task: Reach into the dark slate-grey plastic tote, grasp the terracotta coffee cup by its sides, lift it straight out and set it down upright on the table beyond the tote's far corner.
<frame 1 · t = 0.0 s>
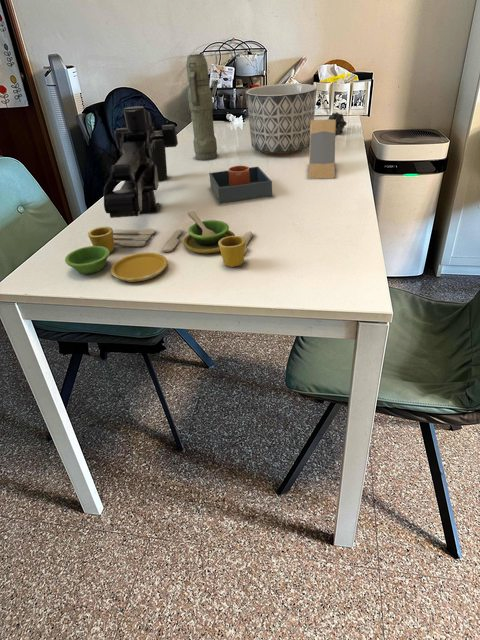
hand: (150, 131, 145), 17 cm above the table, tool horizontal, fingers open, 9 cm apart
coffee cup: (240, 191, 140), resting on tote
tableware set: (164, 256, 108), on the table
tote: (240, 192, 140), on the table
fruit: (335, 132, 197), on the table
planter: (281, 151, 178), on the table
drinking cup: (160, 179, 158), on the table
thermos: (206, 157, 177), on the table
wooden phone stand: (321, 171, 153), on the table
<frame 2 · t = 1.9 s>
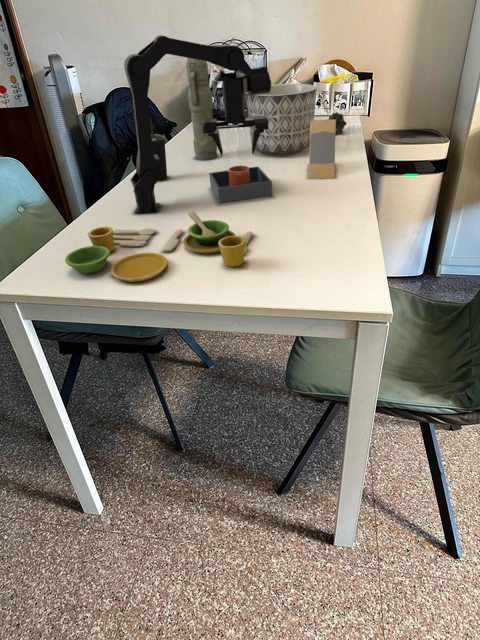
hand: (237, 155, 134), 12 cm above the table, tool pointing down, fingers open, 9 cm apart
nothing on the table moved.
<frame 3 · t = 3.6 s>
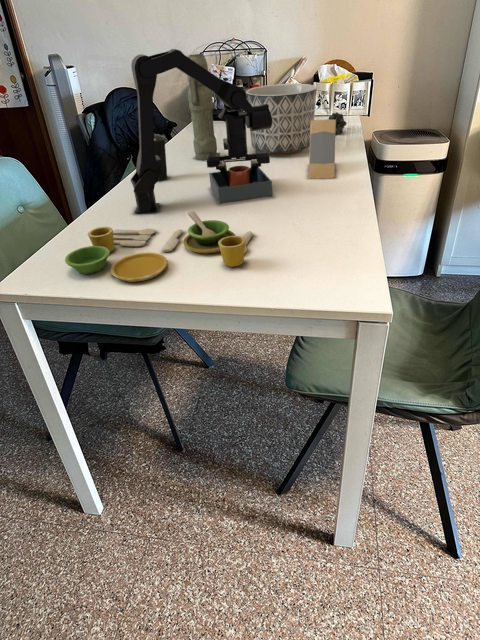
hand: (240, 186, 139), 2 cm above the table, tool pointing down, fingers closed on coffee cup, 6 cm apart
coffee cup: (240, 191, 140), point 1 cm above the table, touching gripper, tote
everything else where it was.
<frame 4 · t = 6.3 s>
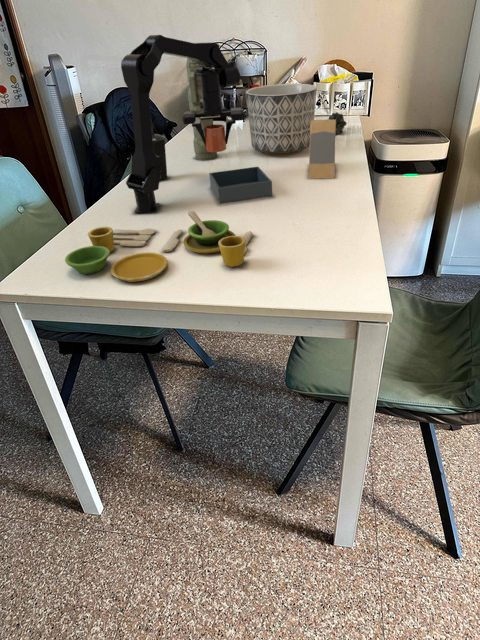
hand: (216, 144, 145), 12 cm above the table, tool pointing down, fingers closed on coffee cup, 6 cm apart
coffee cup: (216, 149, 145), point 10 cm above the table, touching gripper
everything else where it was.
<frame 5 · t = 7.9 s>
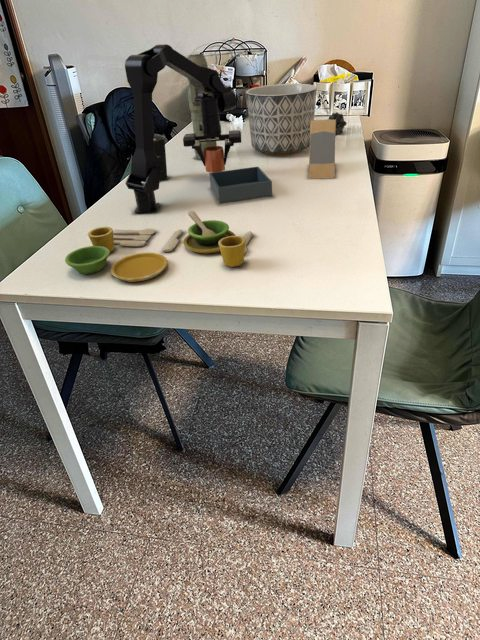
hand: (215, 165, 150), 5 cm above the table, tool pointing down, fingers closed on coffee cup, 6 cm apart
coffee cup: (215, 169, 151), point 3 cm above the table, touching gripper
everything else where it was.
when the fingers open (2 cm above the table, at t = 9.3 s): coffee cup stays where it is, on the table.
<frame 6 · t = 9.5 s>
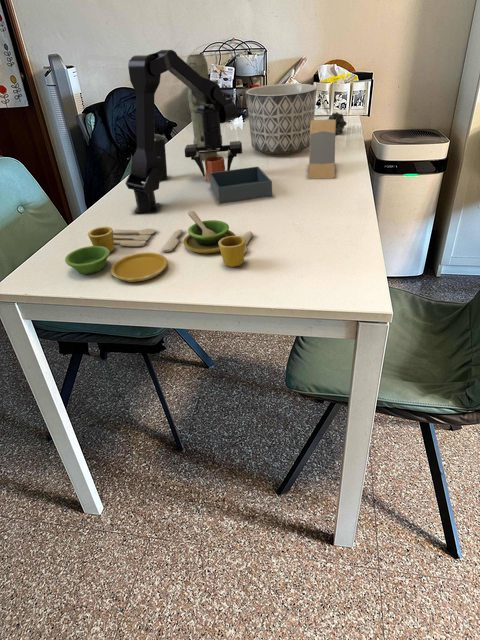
hand: (216, 175, 152), 1 cm above the table, tool pointing down, fingers open, 8 cm apart
coffee cup: (216, 179, 153), on the table
everything else where it was.
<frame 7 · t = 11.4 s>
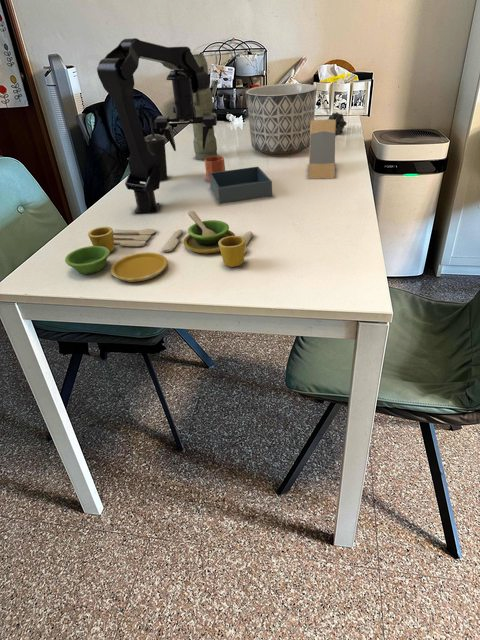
hand: (189, 149, 142), 12 cm above the table, tool pointing down, fingers open, 9 cm apart
nothing on the table moved.
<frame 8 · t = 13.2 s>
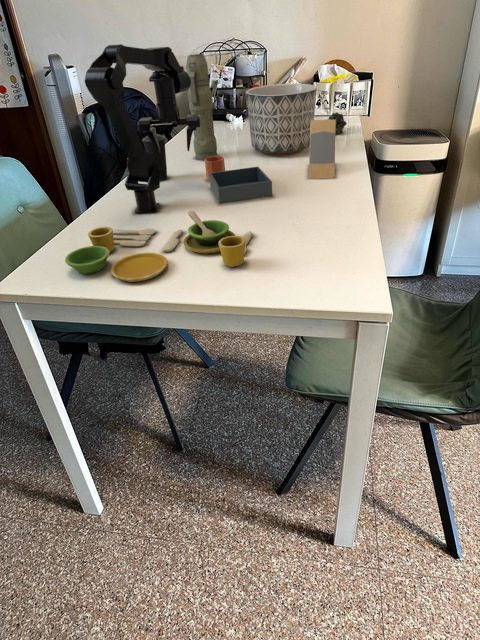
hand: (173, 152, 140), 12 cm above the table, tool pointing down, fingers open, 9 cm apart
nothing on the table moved.
at the end: coffee cup 0.1 cm from the target spot, on the table; coffee cup tilted 0°; the gripper is holding nothing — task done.
